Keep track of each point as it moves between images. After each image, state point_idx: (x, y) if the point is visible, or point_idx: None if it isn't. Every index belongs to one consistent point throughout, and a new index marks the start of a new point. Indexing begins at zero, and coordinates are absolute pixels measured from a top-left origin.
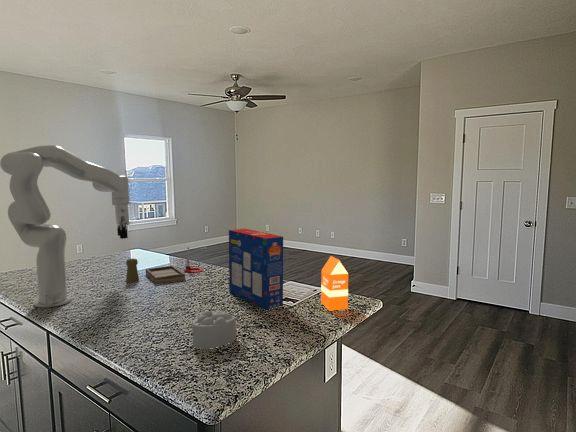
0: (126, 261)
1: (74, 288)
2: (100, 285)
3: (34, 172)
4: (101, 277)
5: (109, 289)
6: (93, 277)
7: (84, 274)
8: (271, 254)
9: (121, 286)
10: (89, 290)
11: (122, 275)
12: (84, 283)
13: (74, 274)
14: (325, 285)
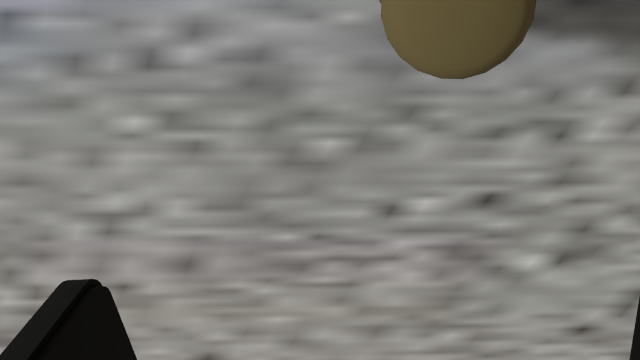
0: (467, 77)
1: (448, 345)
2: (452, 215)
3: None
4: (211, 210)
5: (613, 158)
6: (195, 256)
7: None
8: None
9: (575, 71)
10: (554, 274)
11: (191, 61)
12: (345, 301)
13: None
14: None
